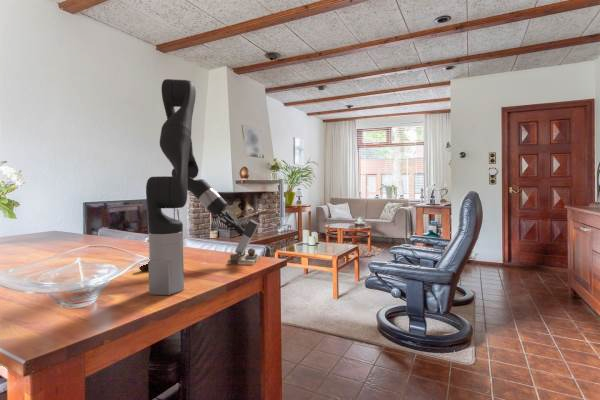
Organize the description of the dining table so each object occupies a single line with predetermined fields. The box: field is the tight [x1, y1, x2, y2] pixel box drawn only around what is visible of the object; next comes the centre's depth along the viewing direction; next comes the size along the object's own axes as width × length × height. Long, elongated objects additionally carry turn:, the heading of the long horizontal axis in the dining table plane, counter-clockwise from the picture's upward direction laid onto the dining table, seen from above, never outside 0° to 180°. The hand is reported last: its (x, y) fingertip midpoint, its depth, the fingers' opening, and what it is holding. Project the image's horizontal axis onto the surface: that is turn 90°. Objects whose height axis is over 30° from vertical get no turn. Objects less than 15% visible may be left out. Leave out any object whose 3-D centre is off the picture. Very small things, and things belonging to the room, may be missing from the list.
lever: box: [234, 219, 260, 256], centre depth 136 cm, size 6×4×16 cm, turn 173°
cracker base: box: [227, 248, 260, 266], centre depth 137 cm, size 10×10×5 cm
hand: (243, 233), depth 136 cm, fingers closed
